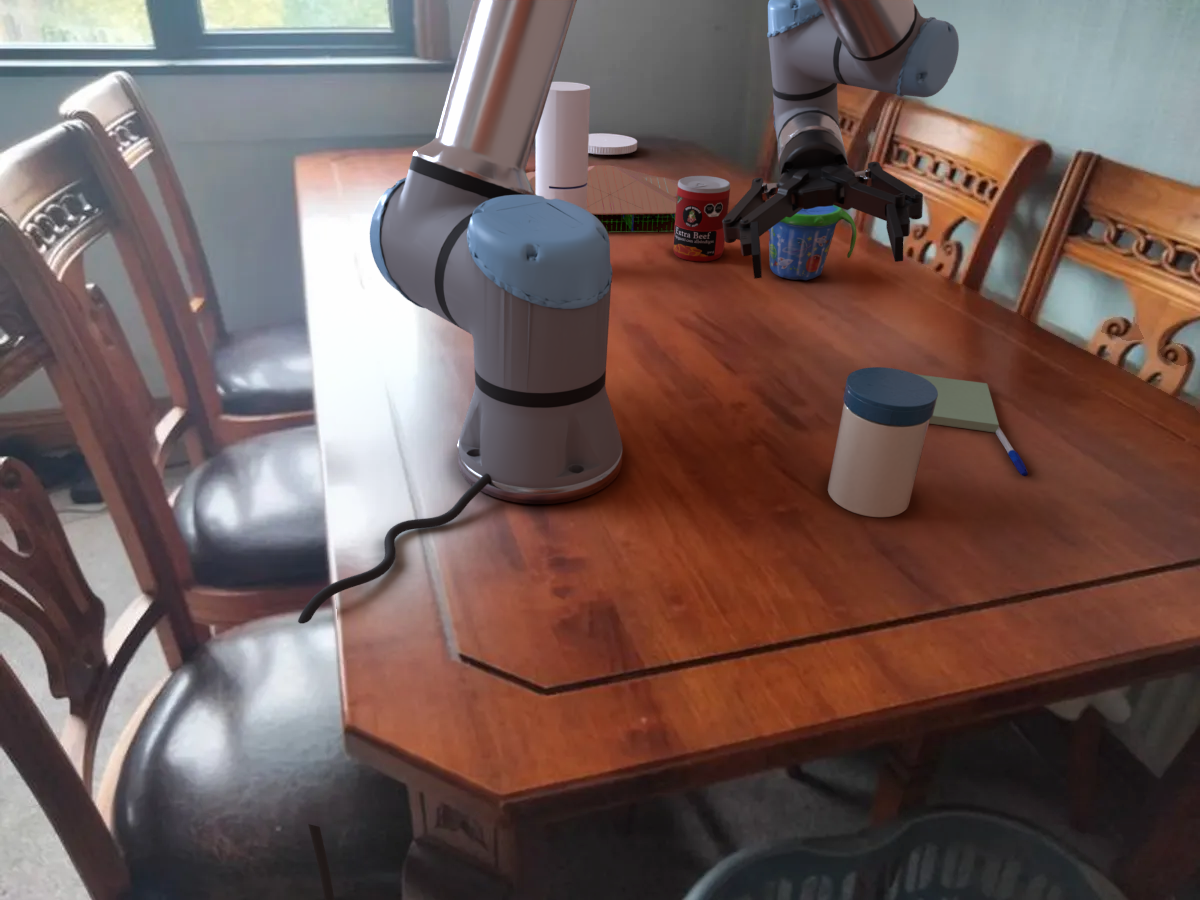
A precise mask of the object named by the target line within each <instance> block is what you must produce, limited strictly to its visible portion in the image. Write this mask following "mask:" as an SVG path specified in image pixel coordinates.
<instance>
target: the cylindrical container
mask: <svg viewBox="0 0 1200 900" xmlns="http://www.w3.org/2000/svg"><path fill="white" fill-rule="evenodd" d="M590 101H591V86H590V85H588V84H585V83H580V82H572V81H552V83H551V87H550V90H549V93H548V97H547V100H546V103H545V106H544V110H543V113H542V116H541V120H540V123H539V126H538V129H537V133H536V136H535V171H536V195H538V196H543V197H544V198H545V199H549V200H551V199H560V200H563V201H567V202H570V203H572V204H575V205H577V206H579V207H581V208H583V209H585V210H587V180H588V167H589V153H588V144H589V134H590V106H591V105H590Z"/></svg>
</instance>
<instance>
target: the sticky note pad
mask: <svg viewBox="0 0 1200 900" xmlns="http://www.w3.org/2000/svg"><path fill="white" fill-rule="evenodd" d="M915 374H916V373H915ZM916 375H919V376H921V377H923V378H925V379H926V380H928V381H929V382H931V383H932V384H933V385H934V386H935V387H936V389H937V391H938V397H937V401H936V405H935V409H934V413H933V415H932V417H931V418H930V422H929V425H936V426H945V427H952V428H959V429H966V430H973V431H980V432H987V433H995V432H996V431H997V430H998V426H999V427H1000V424H999V420H998V417H997V413H996V408H995V406H994V402H993V399H992V395H991V391H990V388H989V385H988V383H987V382H980V381H973V380H963V379H956V378H947V377H941V376H933V375H926V374H919V373H917V374H916ZM995 434H996V433H995Z"/></svg>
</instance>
